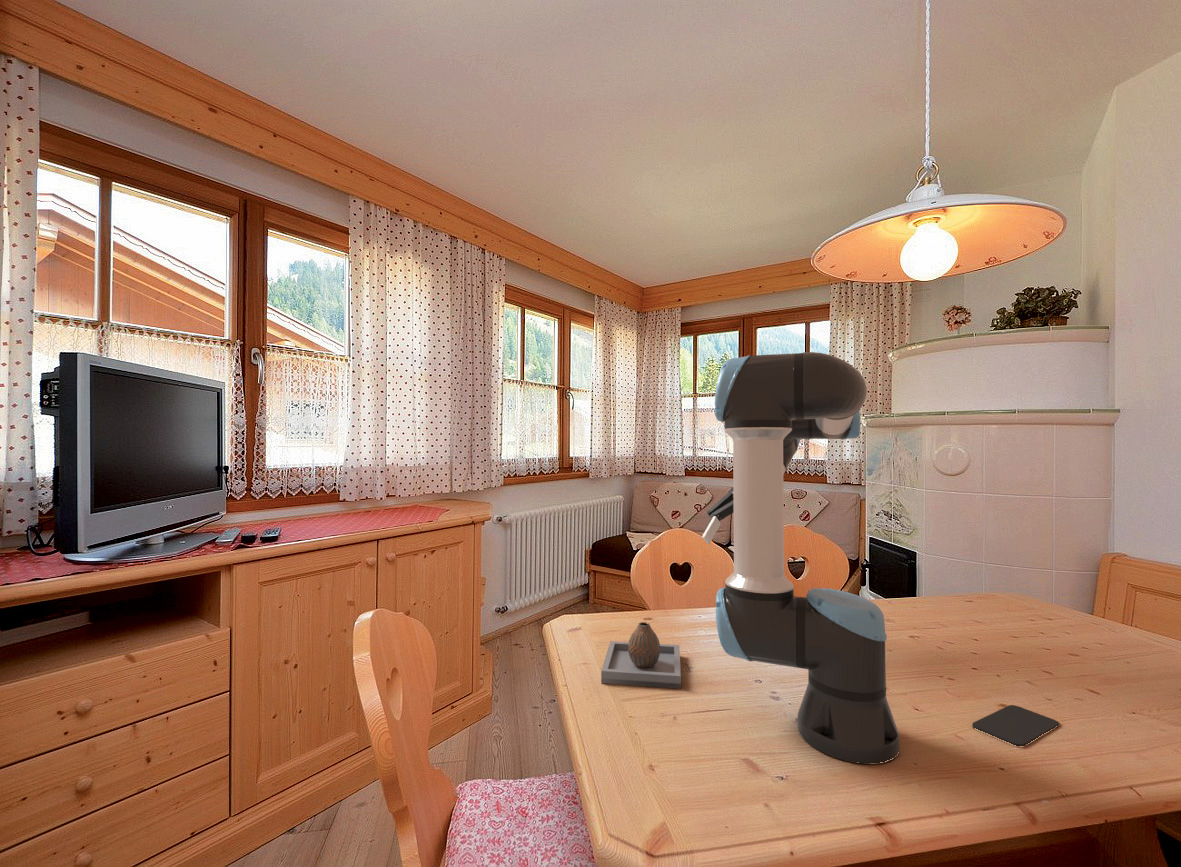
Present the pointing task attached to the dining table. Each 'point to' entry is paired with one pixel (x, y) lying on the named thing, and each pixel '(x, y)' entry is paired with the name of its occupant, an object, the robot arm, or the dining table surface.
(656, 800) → the dining table surface
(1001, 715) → the phone
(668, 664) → the tray
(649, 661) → the vase
